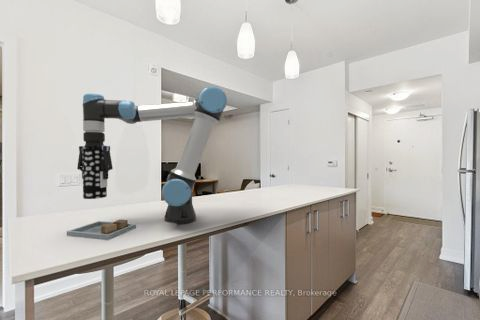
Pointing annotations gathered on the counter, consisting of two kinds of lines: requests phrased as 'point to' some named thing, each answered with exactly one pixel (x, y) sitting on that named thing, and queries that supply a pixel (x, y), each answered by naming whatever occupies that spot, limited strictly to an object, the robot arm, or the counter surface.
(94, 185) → the white-spotted black cylinder
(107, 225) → the walnut block
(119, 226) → the walnut block
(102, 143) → the robot arm
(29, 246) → the counter surface
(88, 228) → the tray
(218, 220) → the counter surface
